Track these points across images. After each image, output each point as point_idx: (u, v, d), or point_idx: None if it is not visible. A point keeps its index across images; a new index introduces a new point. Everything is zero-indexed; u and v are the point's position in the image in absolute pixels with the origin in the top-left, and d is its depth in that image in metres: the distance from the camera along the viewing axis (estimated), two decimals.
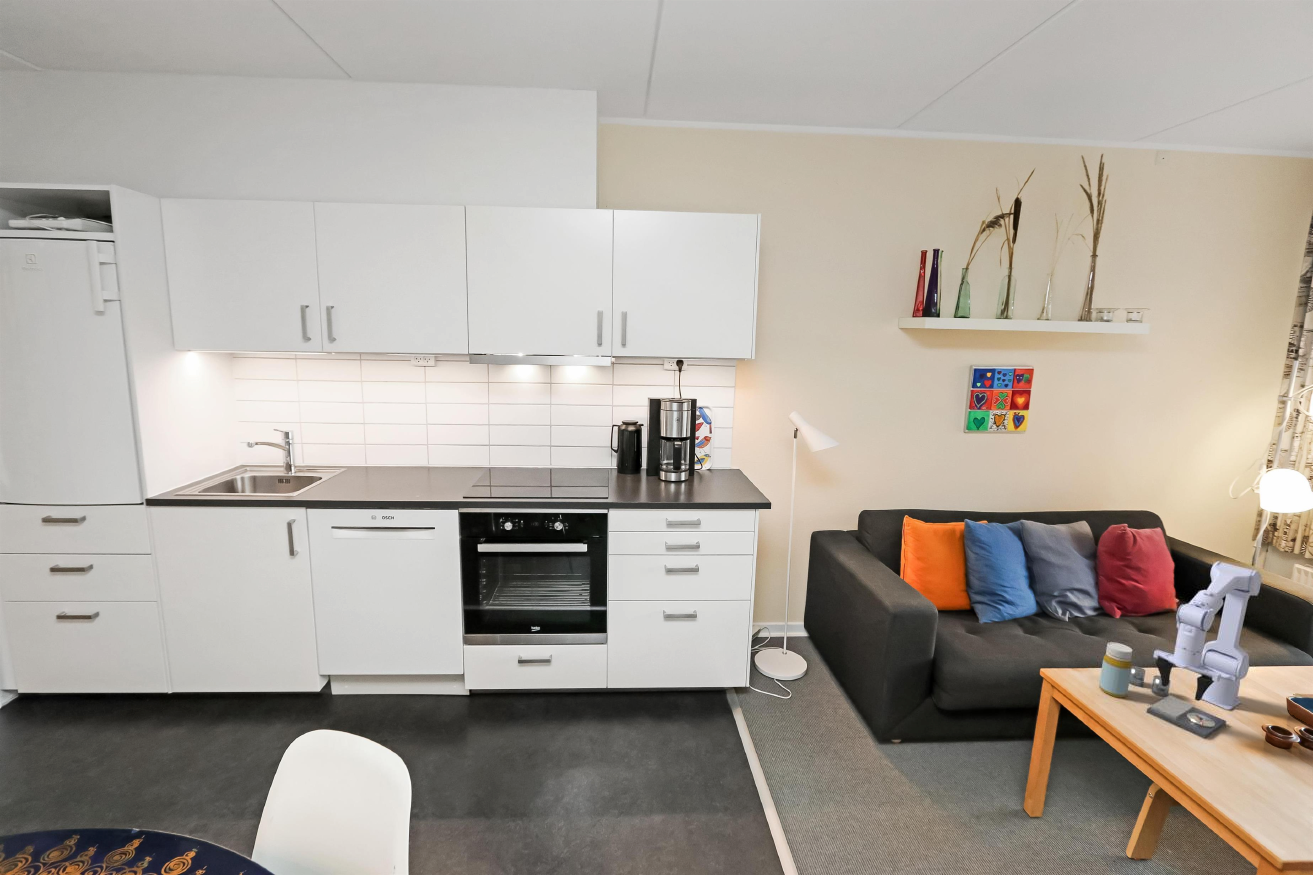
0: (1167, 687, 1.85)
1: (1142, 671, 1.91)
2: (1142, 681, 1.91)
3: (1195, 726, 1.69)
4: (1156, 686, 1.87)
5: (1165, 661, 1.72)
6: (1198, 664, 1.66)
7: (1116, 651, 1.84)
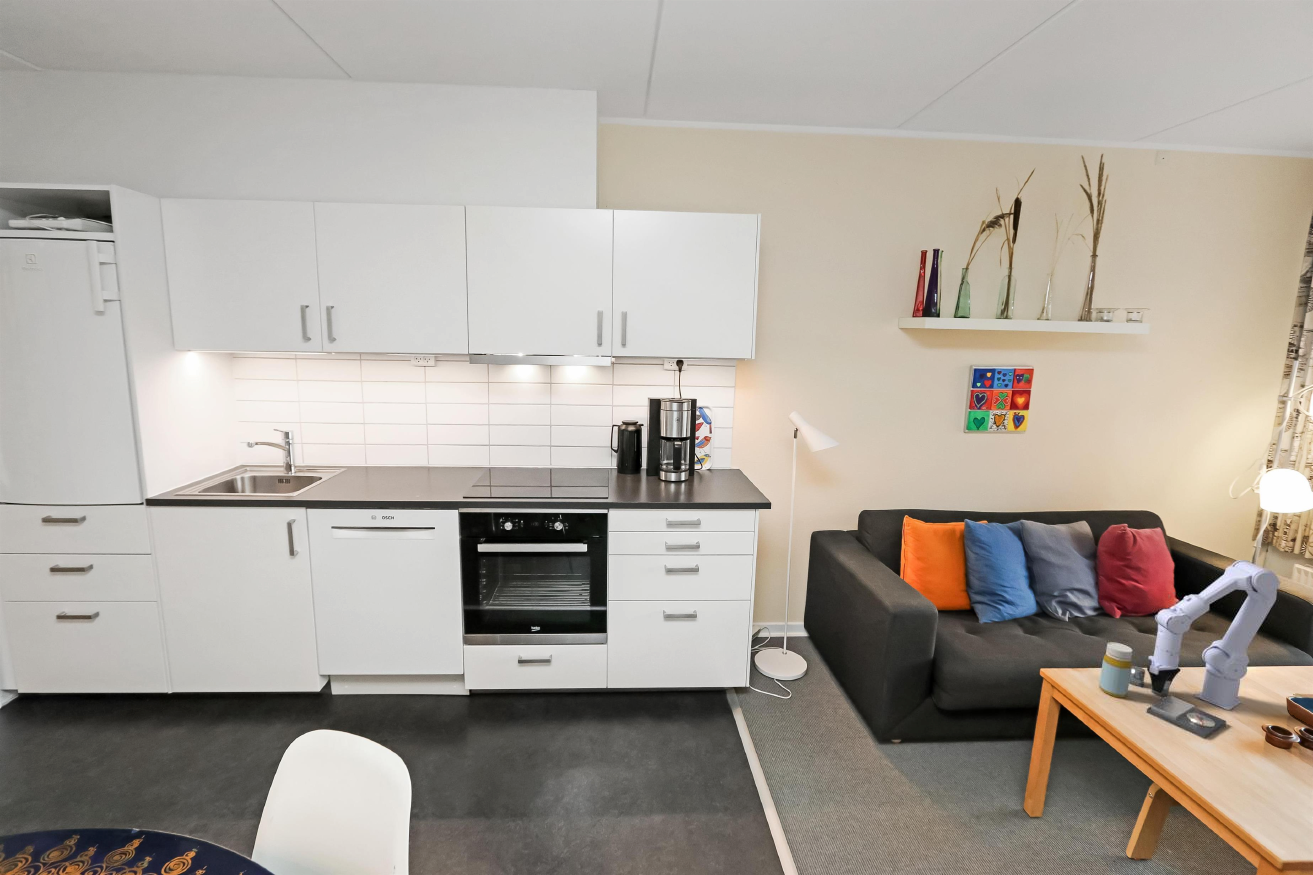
0: (1167, 687, 1.85)
1: (1142, 671, 1.91)
2: (1142, 681, 1.91)
3: (1195, 726, 1.69)
4: None
5: None
6: (1158, 660, 1.85)
7: (1116, 651, 1.84)
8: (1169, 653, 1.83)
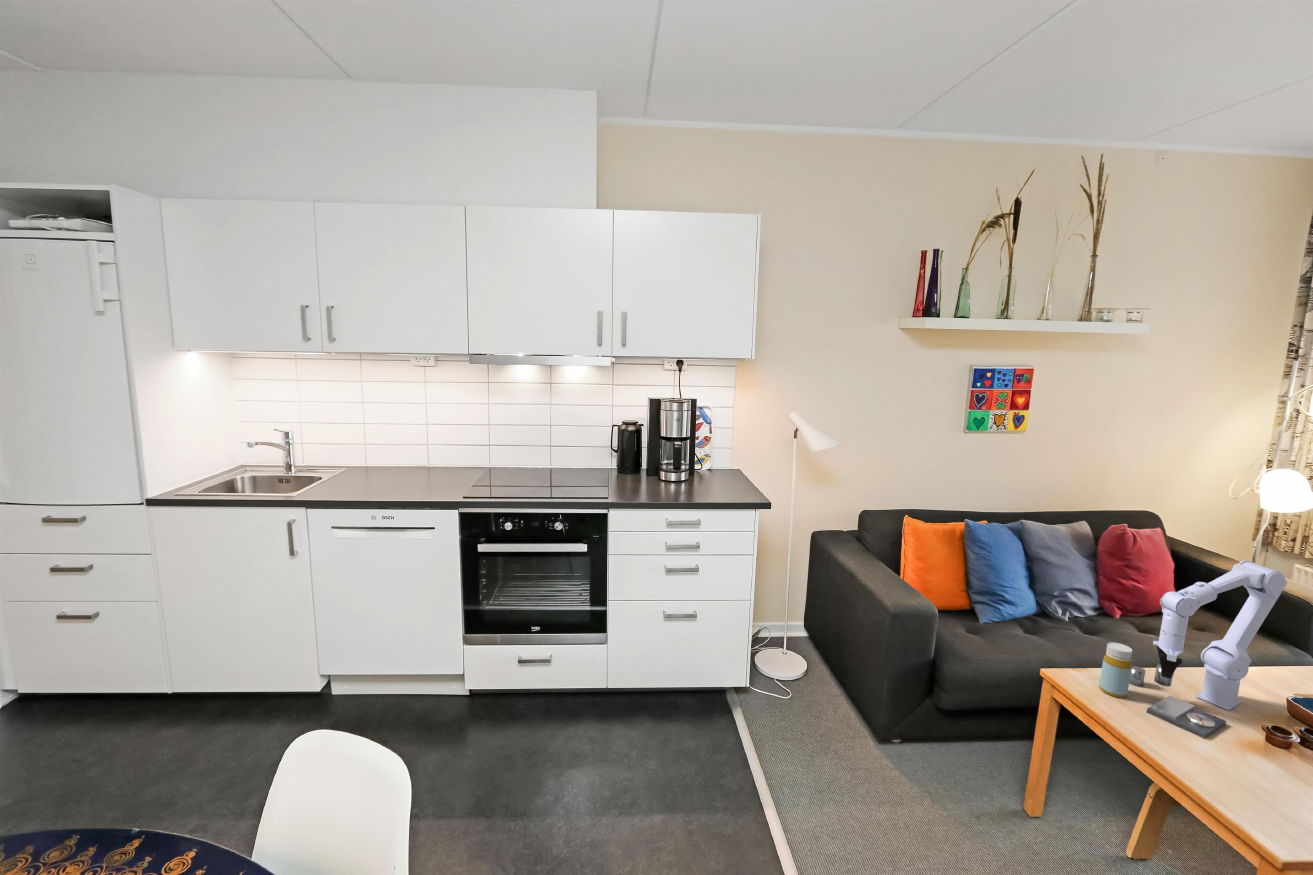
0: None
1: (1142, 671, 1.91)
2: (1142, 681, 1.91)
3: (1195, 726, 1.69)
4: None
5: None
6: (1169, 646, 1.80)
7: (1116, 651, 1.84)
8: (1180, 637, 1.78)
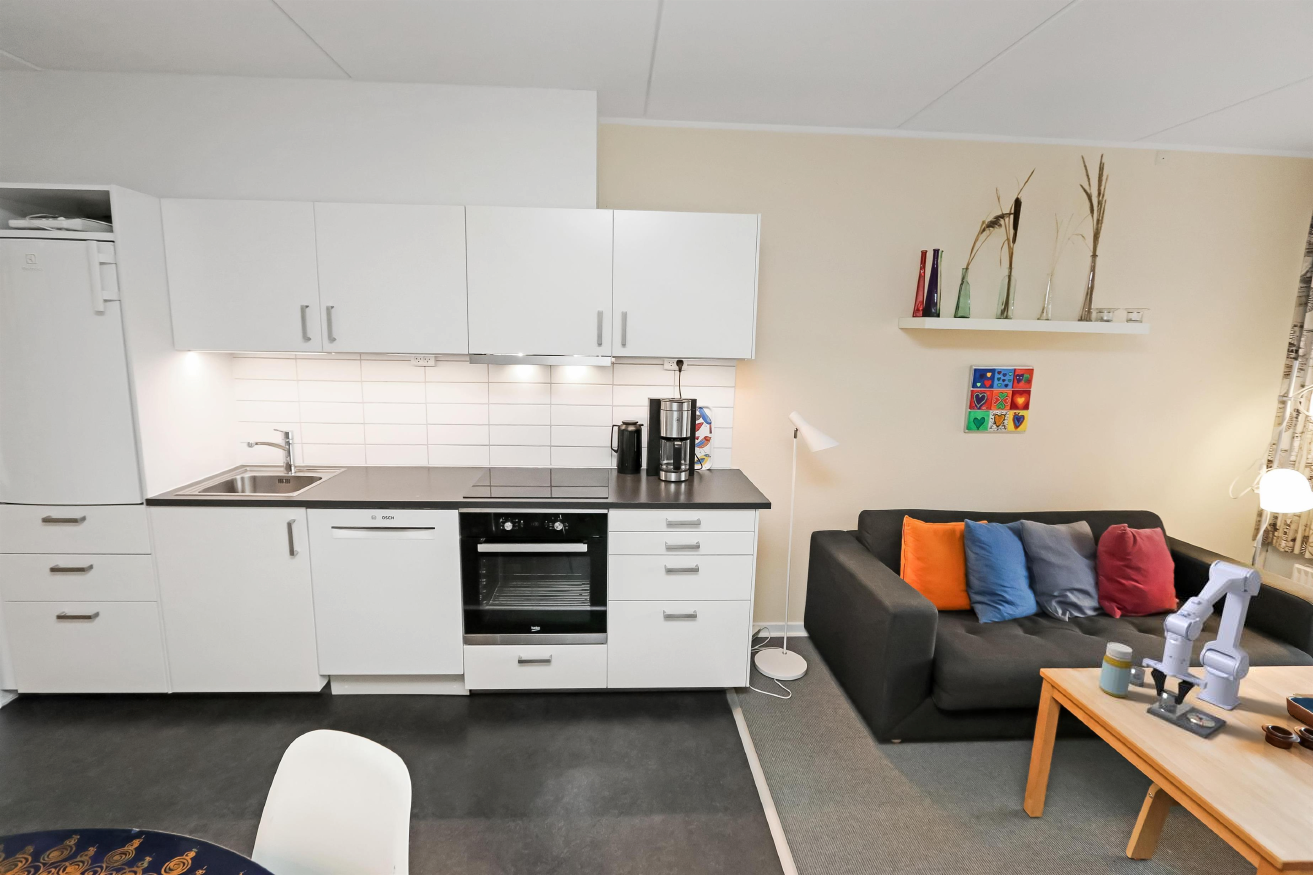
0: None
1: (1142, 671, 1.91)
2: (1142, 681, 1.91)
3: (1195, 726, 1.69)
4: None
5: (1154, 669, 1.77)
6: (1185, 672, 1.71)
7: (1116, 651, 1.84)
8: None
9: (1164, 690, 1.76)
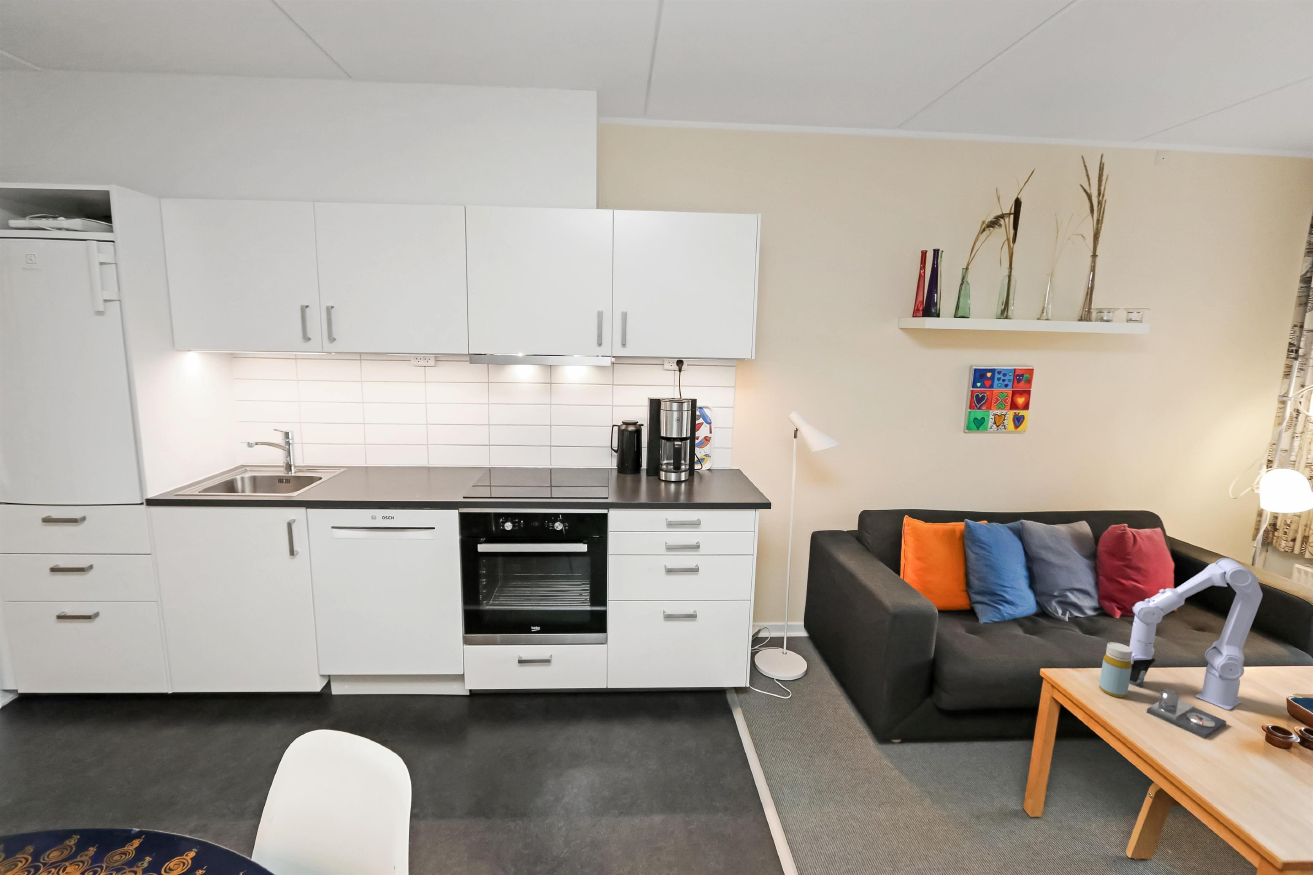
0: None
1: (1142, 671, 1.91)
2: (1142, 681, 1.91)
3: (1195, 726, 1.69)
4: (1176, 703, 1.73)
5: None
6: (1134, 650, 1.91)
7: (1116, 651, 1.84)
8: (1144, 644, 1.89)
9: (1164, 690, 1.76)
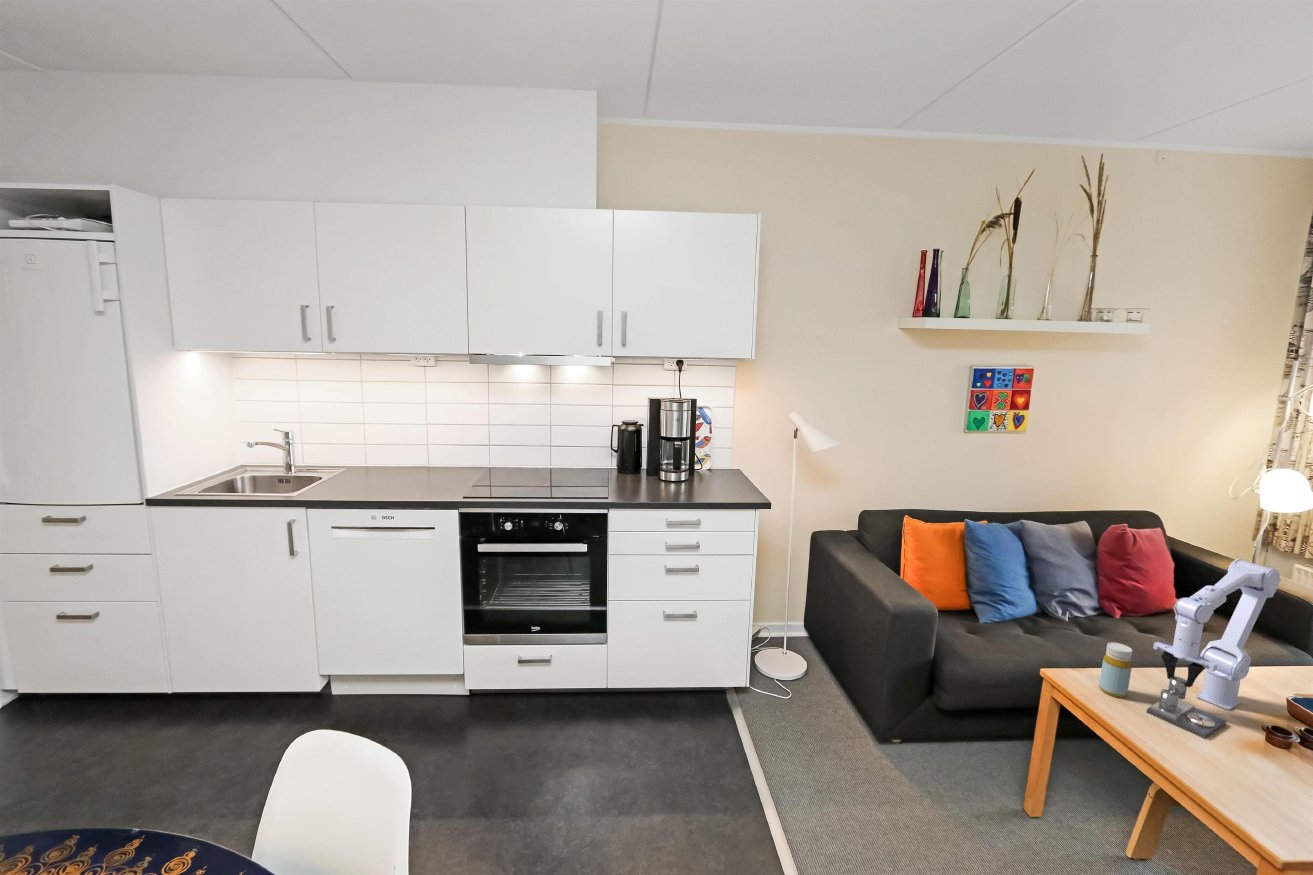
0: None
1: (1184, 679, 1.78)
2: None
3: (1195, 726, 1.69)
4: (1176, 703, 1.73)
5: (1164, 652, 1.81)
6: (1195, 655, 1.75)
7: (1116, 651, 1.84)
8: None
9: (1164, 690, 1.76)
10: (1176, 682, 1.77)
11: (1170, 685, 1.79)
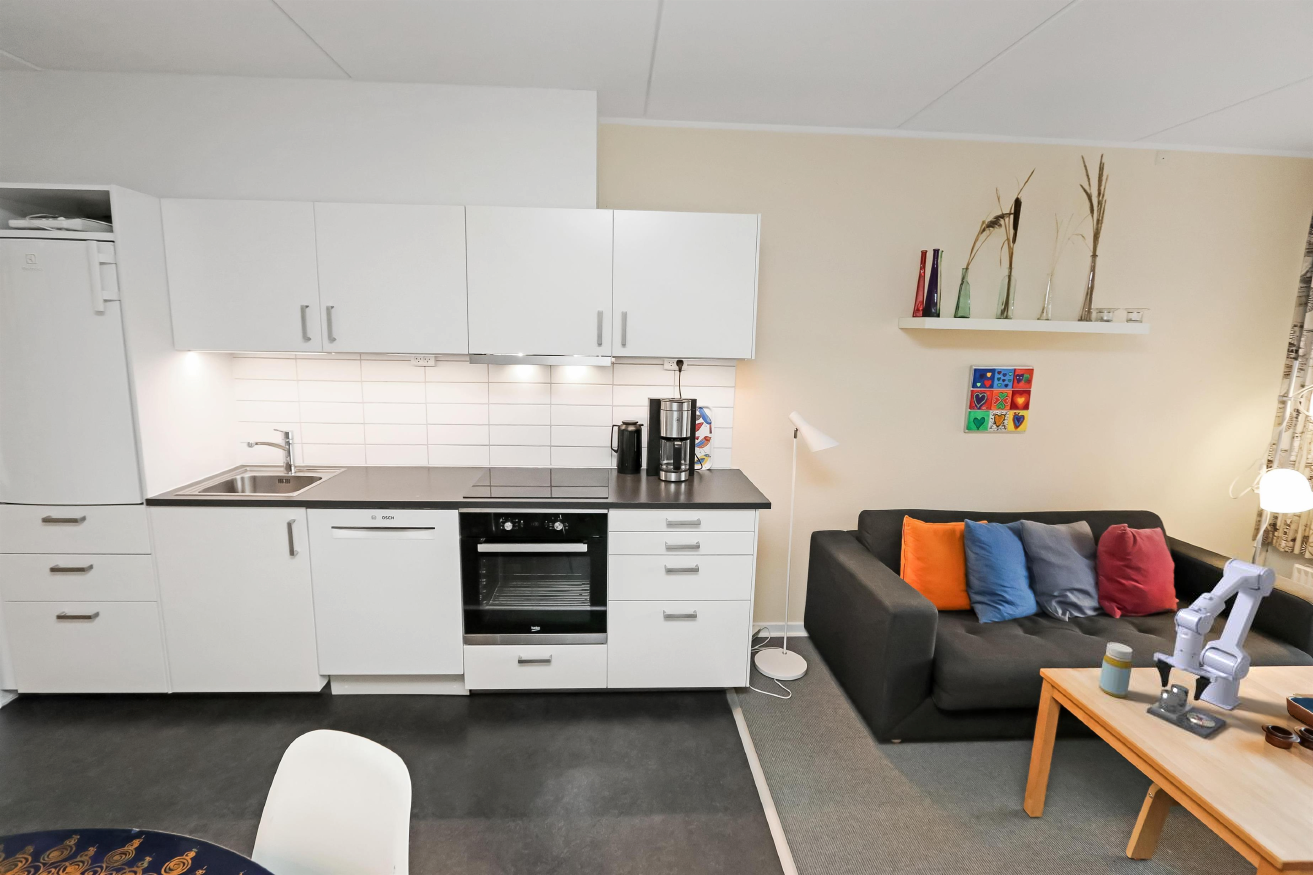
0: None
1: (1184, 687, 1.78)
2: None
3: (1195, 726, 1.69)
4: (1176, 703, 1.73)
5: (1165, 663, 1.81)
6: (1196, 666, 1.74)
7: (1116, 651, 1.84)
8: None
9: (1164, 690, 1.76)
10: (1178, 690, 1.77)
11: None
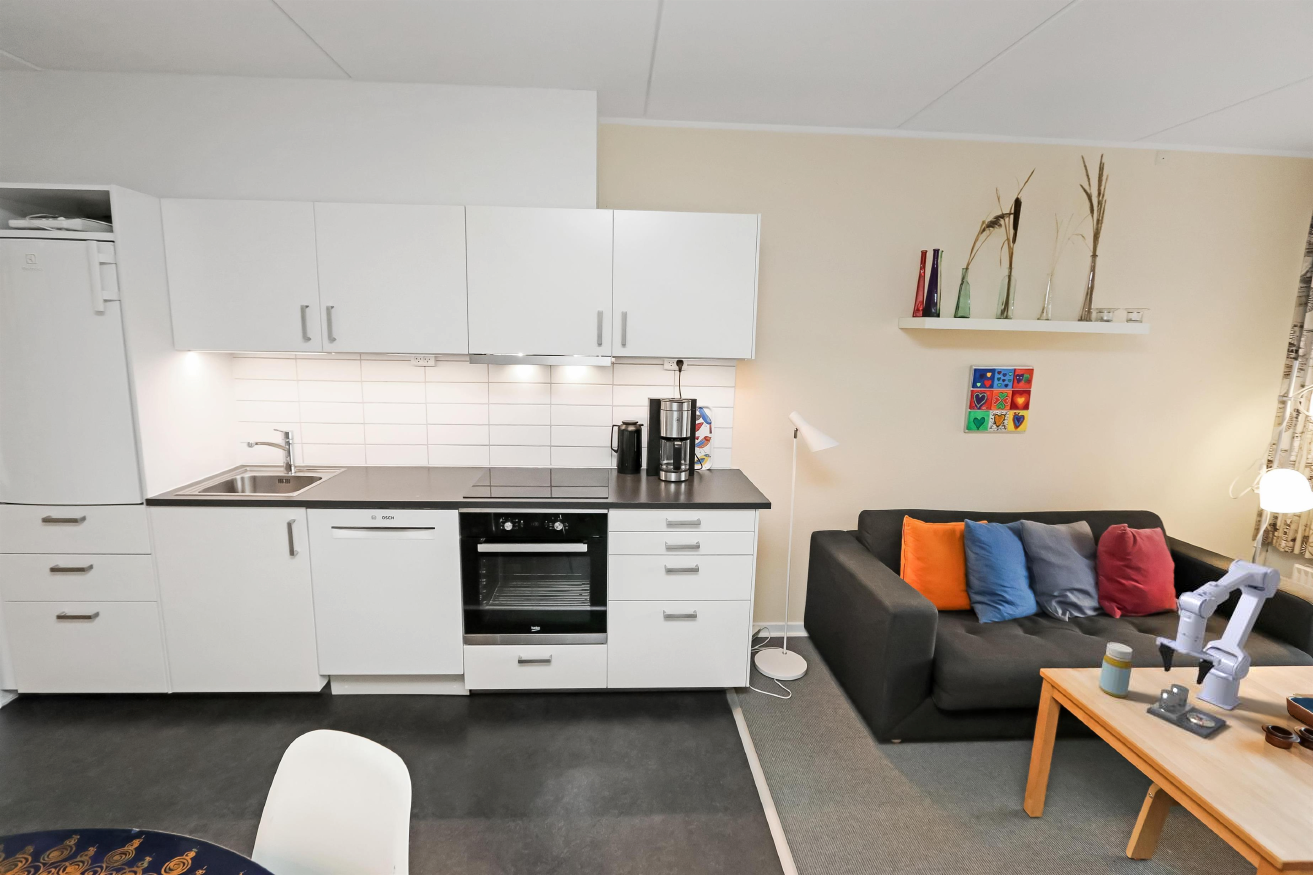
0: None
1: (1184, 687, 1.78)
2: None
3: (1195, 726, 1.69)
4: (1176, 703, 1.73)
5: (1167, 647, 1.80)
6: (1199, 650, 1.74)
7: (1116, 651, 1.84)
8: None
9: (1164, 690, 1.76)
10: (1178, 690, 1.77)
11: None
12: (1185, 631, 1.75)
